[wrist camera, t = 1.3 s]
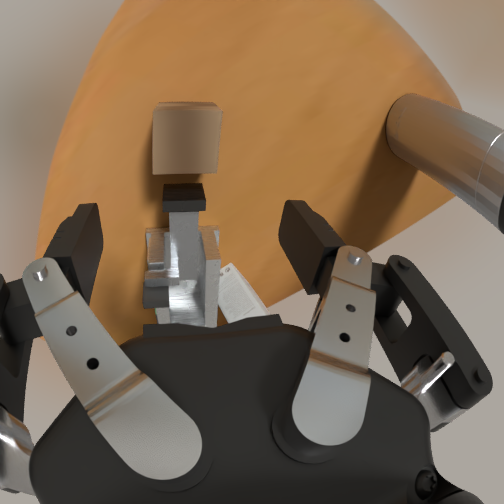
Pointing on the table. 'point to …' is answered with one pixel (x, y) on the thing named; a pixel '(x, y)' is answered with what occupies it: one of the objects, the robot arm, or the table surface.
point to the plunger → (180, 233)
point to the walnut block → (186, 137)
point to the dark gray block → (156, 297)
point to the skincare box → (238, 296)
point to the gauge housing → (188, 291)
